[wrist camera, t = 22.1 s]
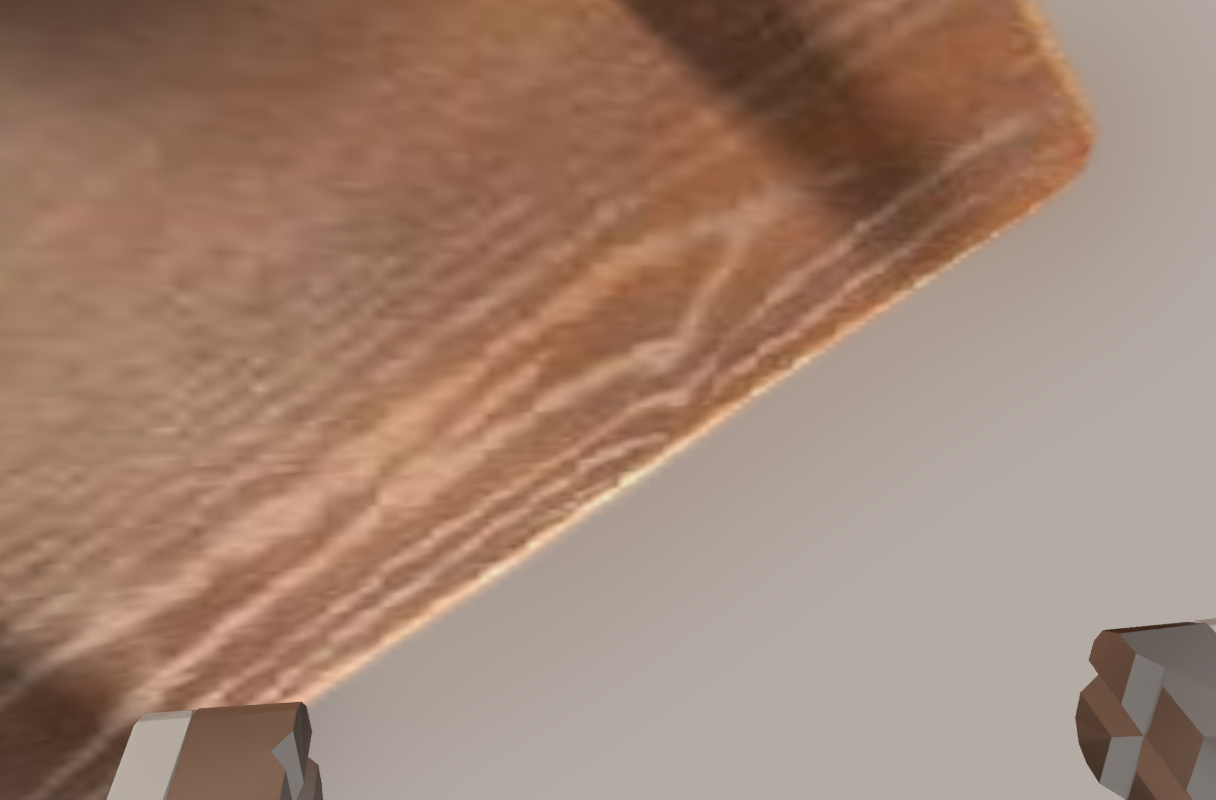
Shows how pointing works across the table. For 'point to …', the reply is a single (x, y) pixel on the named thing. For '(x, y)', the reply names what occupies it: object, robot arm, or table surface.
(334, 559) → the table surface
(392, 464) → the table surface
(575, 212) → the table surface
